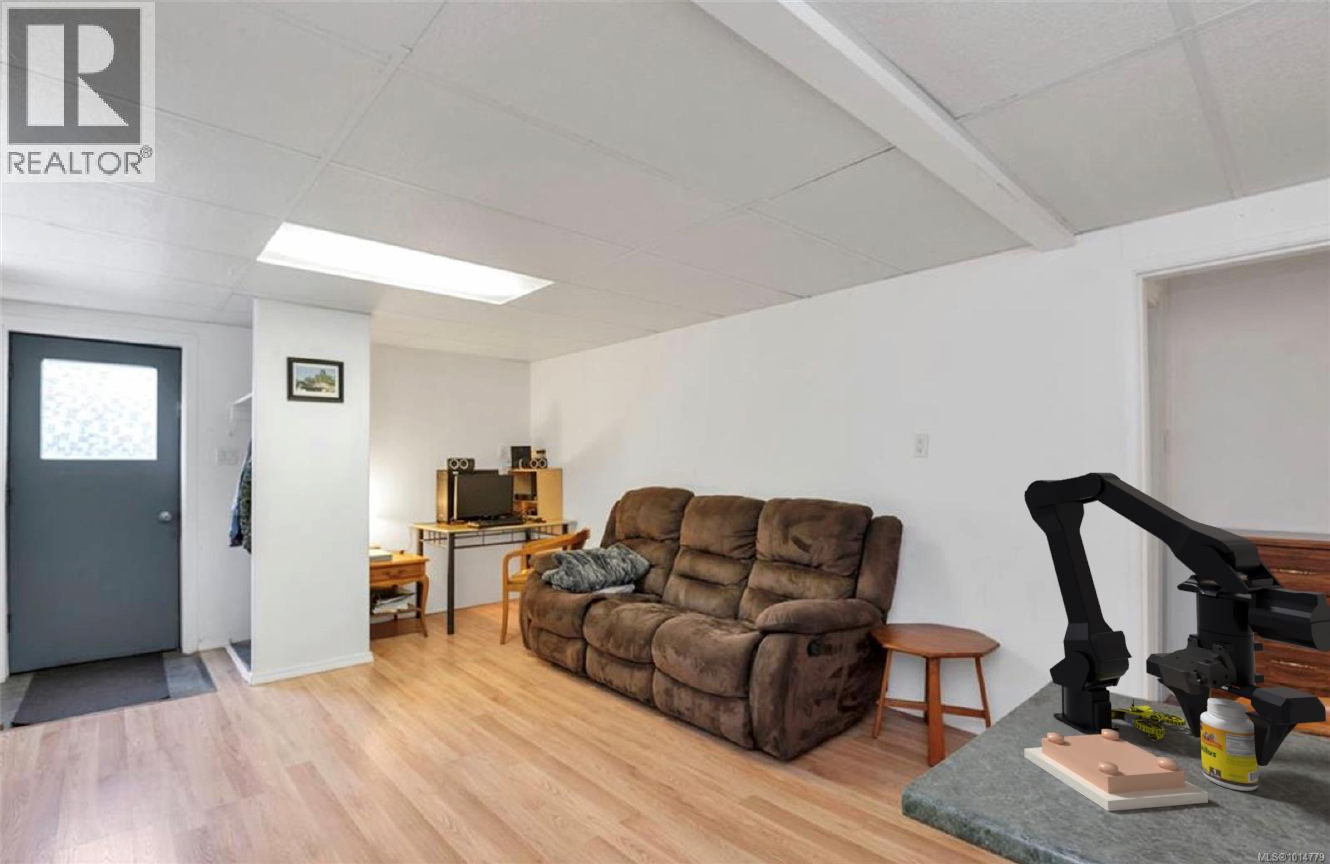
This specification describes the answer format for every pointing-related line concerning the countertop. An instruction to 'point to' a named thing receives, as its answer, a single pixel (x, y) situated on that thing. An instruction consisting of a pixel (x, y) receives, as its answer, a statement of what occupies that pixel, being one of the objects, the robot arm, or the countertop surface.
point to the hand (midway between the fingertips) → (1228, 750)
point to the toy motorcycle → (1147, 719)
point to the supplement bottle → (1228, 745)
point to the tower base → (1118, 798)
